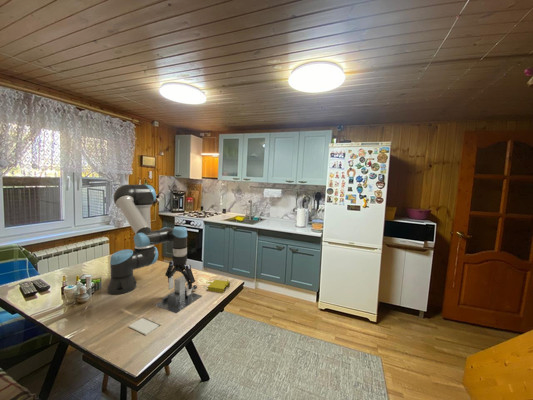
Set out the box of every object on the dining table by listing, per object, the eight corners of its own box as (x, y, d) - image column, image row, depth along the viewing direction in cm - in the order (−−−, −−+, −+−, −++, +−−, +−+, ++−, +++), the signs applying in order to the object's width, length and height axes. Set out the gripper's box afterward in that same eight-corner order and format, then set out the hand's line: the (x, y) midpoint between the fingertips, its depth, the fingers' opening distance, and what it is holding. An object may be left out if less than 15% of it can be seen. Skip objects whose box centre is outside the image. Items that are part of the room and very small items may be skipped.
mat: (128, 326, 106) (128, 325, 106) (158, 309, 120) (158, 308, 120) (146, 335, 101) (146, 334, 101) (174, 316, 115) (174, 315, 115)
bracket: (211, 272, 153) (232, 274, 150) (211, 283, 154) (231, 285, 151) (199, 281, 138) (222, 285, 135) (199, 294, 139) (222, 297, 136)
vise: (154, 306, 123) (154, 296, 122) (186, 288, 144) (186, 279, 143) (176, 315, 116) (176, 304, 115) (206, 295, 137) (206, 285, 136)
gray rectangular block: (174, 301, 127) (174, 279, 126) (183, 295, 134) (183, 275, 133) (179, 302, 126) (179, 281, 125) (188, 297, 132) (189, 276, 131)
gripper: (158, 252, 128) (158, 288, 130) (192, 261, 117) (191, 300, 119) (169, 249, 135) (169, 283, 137) (201, 256, 124) (201, 293, 126)
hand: (179, 291), depth 128 cm, fingers open, 13 cm apart
